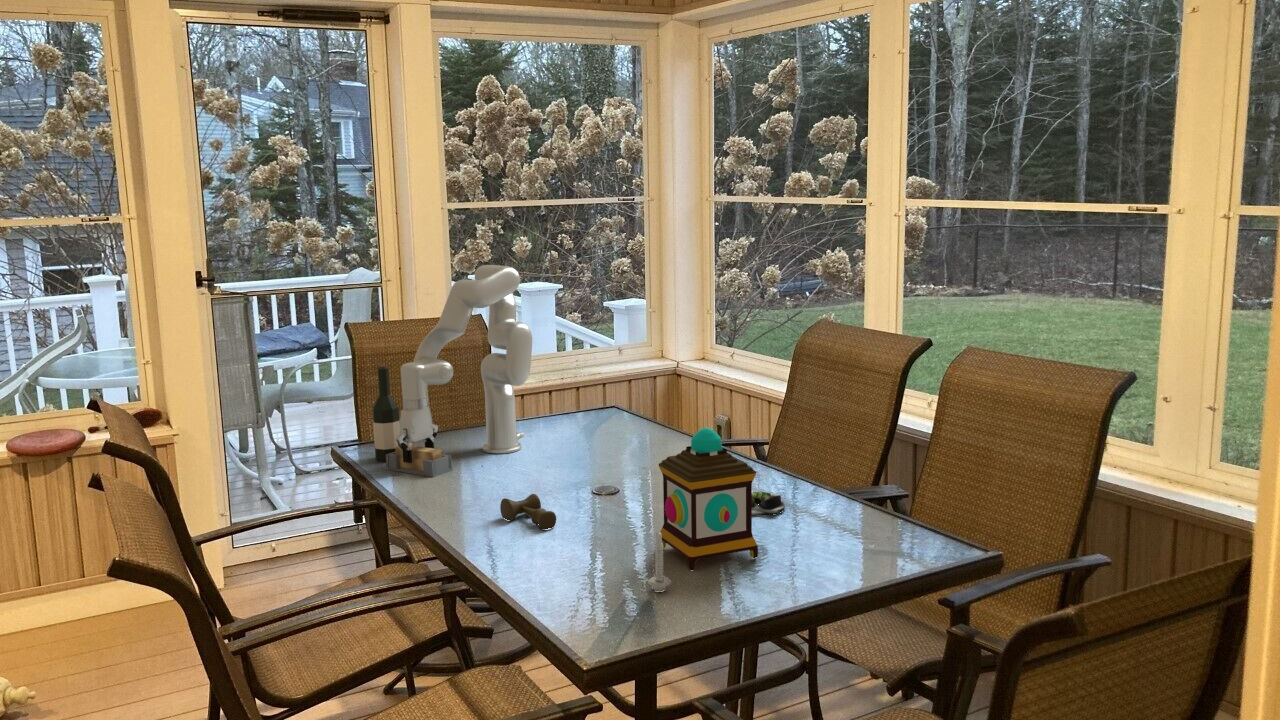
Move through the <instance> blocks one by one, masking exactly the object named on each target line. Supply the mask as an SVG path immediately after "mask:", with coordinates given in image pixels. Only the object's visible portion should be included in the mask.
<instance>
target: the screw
mask: <svg viewBox="0 0 1280 720" xmlns="http://www.w3.org/2000/svg"><path fill="white" fill-rule="evenodd" d="M662 544H663V542H662V534H661V533H660V531H657V532H656V533H655V544H654V545H655V546H654V548H655V549H654V551H655V552H654V554H655V555H654V556H655V557H654V562H655V563H654V564H655V566H654V569H655V570H654V572H655V576H652V577H650V578H649V579H648V581H647V583H648V585H649V586H651V587H653V591H654V590H655V591H663V590H666V591H667V587H668V586H670V585H671V584H672V580H671V579H670V578H669V577H667V576H665V575H664V574H665V572H664V571H665V569H664V568H665V567H664V565H665V564H664V563H665V561H664V560H665V559H664V552H665V551H664V549H665V548H663V545H662ZM655 591H654V592H655Z"/></svg>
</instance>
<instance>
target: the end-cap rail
mask: <svg viewBox="0 0 1280 720" xmlns="http://www.w3.org/2000/svg"><path fill="white" fill-rule="evenodd" d="M385 463H386V467H385V468H386V470H390V471H394V470H395V471H396V472H400V471H401V472H402V473H406V472H408V474H412V473H414V474H413V475H418V474H420V475H419V476H424V475H425V476H426V477H430V476H431V477H430V478H434V477H438V476H440V475H443V474H446V473H448V471H449V472H451V471H453V465H452V464H453V463H452V455H450V454H443V453H442V458H439V459H436V460H433V461H432V460H426V459H425V460H423V470H424V471H423V470H417V469H410V468H404V467H399V465H398V455H396V452H393V453H389V454H386V462H385ZM437 475H438V476H437ZM425 476H424V477H425Z"/></svg>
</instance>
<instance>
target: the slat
mask: <svg viewBox="0 0 1280 720" xmlns="http://www.w3.org/2000/svg"><path fill="white" fill-rule="evenodd" d="M410 450H412V463H406V462H403V451H402V450H401V448H400V447H399V446H398V447H395V451H396V455H398V465H399V467H404V468H410V469H417V470H423V460H425V459H426V460H432V461H433V460H436V459H439V458H442V454H443V450H442V449H439V448H434V449H433V448H426V447H425V446H418V445H413V444H412V446H411V448H410ZM423 471H424V470H423Z"/></svg>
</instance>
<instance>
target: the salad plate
mask: <svg viewBox="0 0 1280 720" xmlns="http://www.w3.org/2000/svg"><path fill="white" fill-rule="evenodd" d="M758 504H759V505H758ZM785 508H786V505H785V503H784V501H783V499H782V496H781V495H780V494H776V493H771V492H767V491H760V490H758V491H752V515H769V516H774V515H773V514H776V515H778V514H777V513H779V514H781V513H783V512H784V510H785ZM782 511H783V512H782ZM780 512H781V513H780Z"/></svg>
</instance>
